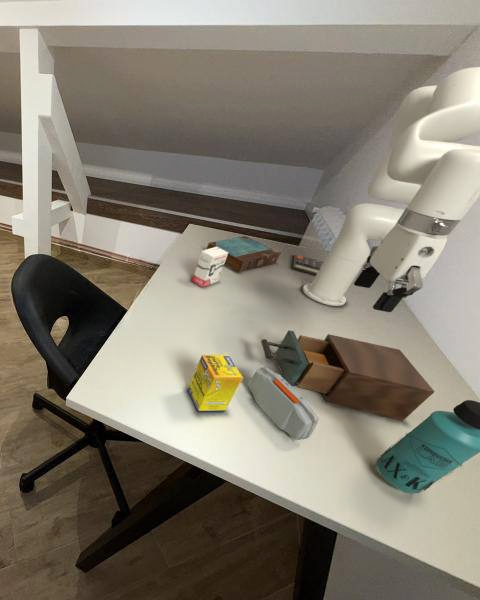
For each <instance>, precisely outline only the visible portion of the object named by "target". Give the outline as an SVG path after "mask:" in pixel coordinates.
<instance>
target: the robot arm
mask: <svg viewBox="0 0 480 600" xmlns="http://www.w3.org/2000/svg"><path fill="white" fill-rule="evenodd" d="M479 131H480V66H475V67H474V66H473V67H466V68H462V69H459V70H457V71H454V72H452V73H451V74H449V75H447V76H446V77H445V78H443V79H442V80H441V81H440V82H439V83H438V84H437V85H427V86H421V87H418V88H415V89H413V90H412V91H410V92H409V93H408V94H407V95H406V96H405V97H404V99H403V100H402V102H401V104H400V106H399V108H398V110H397V113H396V115H395V117H394V121H393V125H392V132H391V138H390V143H389V146H388V148H387V150H386V152H385V154H384V156H383V158H382V160H381V161H380V163H379V165H378V167H377V168H376V171H375V173H374V175H373V177H372V178H371V181H370V183H369V185H368V187H367V194H368V196H370V197H371V198H374V199H377V200H380V201H386V202H391V203H397V204H402V205H407V206H406V208H405V209H404V208H398V207H394V206H389V205H385V204H384V205H383V204H378V203H371V202H369V203H368V202H367V203H366V202H363V203H358V204H355V205H354V206H352V207H351V208H350V209H349V210H348V212H347V214H346V216H345V218H344V221H343V223H342V226H341V228H340V231H339V234H338V235H337V237H336V239H335V242H334V243H333V244H332V246H331V248H330V250H329V252H328V254H327V255H326V258H325V259H324V261H323V262H324V263H323V264H322V266H321V268H320V269H319V271H318V273H317V275H314V276H315V277H313V280H312V281H311V283H306V284H305V285H303V287H302V292H303V294H305V295H306V296H307V298H309V299H311V300H313V301H315V302H317V303H319V304H324V305H327V306H331V307H340V306H344V305H345V304H346V302H347V299H346V297H345V294H346V292H347V291H348V289H349V288H350V286H351V284H353V285H354V286H355V287H360V288H366V289H370V288H372V287H373V285H374V284H375V282H376V280H378V278H379V276H382V277H383V278H384V279H385V280H386V281H387V282H388V285H387V290H386V291H383V292H382V294H381V295H380V296H379V297H378V299H377V300H376V302H375V303H374V304H373V305H372V308H373V310H374V311H379V312H380V311H381V312H385V313H392V312H393V311H394V309H396V307H397V306H398V305H399V303H400V302H401V301H402V300H403V299H406V298H408V296H409V297H410V296H412V295H414V293H417V292H418V291H419V290H421V289H423V287H424V282H423V279H424V278H425V277H426V275H428V273H429V272H430V270H431V269H432V267H433V266H434V265H435V263H436V262H437V260H438V258H439V257H440V255H441V254H442V251H443V250H444V249H445V245H446V244H447V241H448V237H449V236H450V234H451V233H452V232H453V231H454V229H455V228H456V227H457V225H458V224H460V222H461V221H462V219H463V218H464V217H465V215H466V214H467V213H468V212H469V210H470V209H472V207H473V205H474V204H475V203H476V201H477V200H478V199H479V198H480V145H473V144H463V143H458V141H462V140H464V139H466V138H469V137H471V136H473V135H474V134H476V133H478V132H479ZM456 142H457V143H456ZM368 240H372V241H377V242H378V241H379V242H380V243H379V244H378V245H375V246H372V247H371V249H370V246H369V243H368ZM361 269H362V271H361ZM360 271H361V272H360ZM359 272H360V273H359ZM358 274H359V275H358ZM357 275H358V276H357ZM356 277H357V278H356ZM355 278H356V279H355ZM354 280H355V281H354ZM353 281H354V283H353ZM397 285H399V286H400V285H401V286H400V287H398V288H397Z"/></svg>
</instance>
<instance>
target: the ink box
mask: <svg viewBox="0 0 480 600" xmlns="http://www.w3.org/2000/svg"><path fill="white" fill-rule="evenodd" d="M227 255H228V252H226V251H224V250H222V249H221V248H219V247H213V248H210V249H207V248H205V249H203V250H201V252H200V255H199V258H198V261H197V264H196V268H195V270H194V274H193V277H192V279H191V280H192V283H195V284H196V285H198V286H199V287H201V288H203V287H207V286H210V285H212V284H215V283H218V281H219V279H220V276H221V273H222V271H223V268H224V266H225V265H224V263H225V261H226V258H227Z"/></svg>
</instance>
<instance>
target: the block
mask: <svg viewBox="0 0 480 600" xmlns="http://www.w3.org/2000/svg"><path fill="white" fill-rule="evenodd" d="M303 353H304V356H305V358H306V360H307V362H308V365H307V366H306V368H305V369H304V371H303V372H302V373H301V375H300V376H301V377H302V376H303V374H304V373H305V371H306V370H307V369H308V367H309V366H310V364H311V363H312V361H313V362H317V363H322V364H326V365H329V363H328V362H327V360H326V358H325V356H324V355H323V354H318V353H314V352H309V351H305V350H303Z"/></svg>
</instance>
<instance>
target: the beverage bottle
mask: <svg viewBox="0 0 480 600" xmlns="http://www.w3.org/2000/svg"><path fill="white" fill-rule="evenodd" d="M452 409H453V411H447V410H434V411H433V412H431V413H430V415H429V416H427V418H425V419H424V420H422V421H421V422H420V423H419V424H418V425H417V426H415V427H414V428H413V429H412V430H411V431H409V432H407V433H405V435H403V436H402V437H400V438H399V439H397V441H395V442H394V443H393V444H391V446H389V447H388V448H387V449H386V450H384V452H382V453H381V455H379V457H377V459H376V462H375V463H376V464H375V466H376V469H377V471H378V473H379V474H380V475H381V477H383V479H384V480H385V481H386V482H388V484H390V485H391V486H393V487H394V488H396V489H398V490H399V491H401V492H403V493H407V494H410V495H411V494H412V495H413V494H420V493H422V492H426V491H427V490H428V489H430V488H431V487H432V486H435V485H436V484H438V483H439V481H440V480H443V479H444V478H446V477H447V476H448V475H449V474H453V472H454V471H455V470H456V469H458V468H462V466H463V464H465V463H466V462H468V461H469V460H471V459H472V458H473V457H475V456H476V455H477V454H479V453H480V401H476V400H473V399H466V400H463V401H462V402H460V403H459V404H457V405H455V406H454V407H453V408H452Z"/></svg>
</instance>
